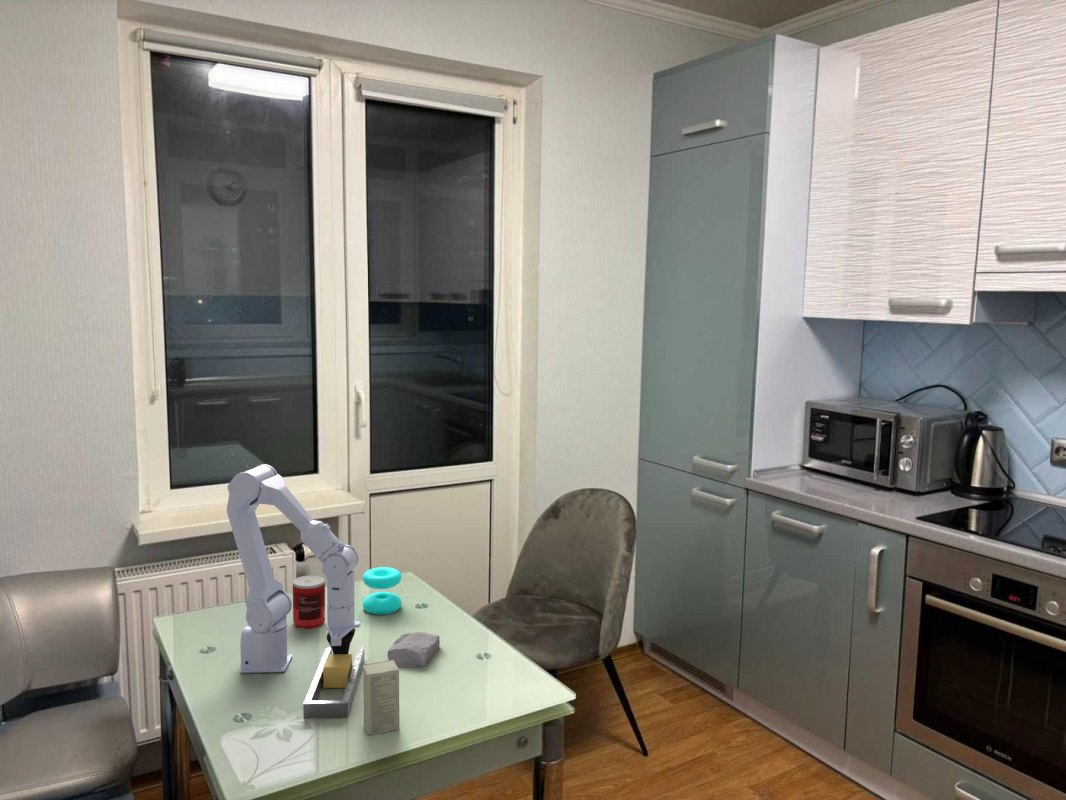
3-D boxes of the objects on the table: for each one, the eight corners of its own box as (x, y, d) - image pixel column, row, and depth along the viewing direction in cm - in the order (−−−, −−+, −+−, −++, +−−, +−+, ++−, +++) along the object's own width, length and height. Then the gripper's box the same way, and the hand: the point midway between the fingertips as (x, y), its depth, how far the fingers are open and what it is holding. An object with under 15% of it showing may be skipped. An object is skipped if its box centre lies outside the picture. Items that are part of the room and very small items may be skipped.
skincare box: (395, 718, 155) (395, 659, 153) (400, 730, 150) (400, 669, 149) (362, 724, 152) (362, 663, 151) (366, 736, 148) (366, 674, 147)
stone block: (385, 672, 178) (427, 668, 176) (381, 651, 178) (423, 647, 176) (403, 651, 190) (443, 647, 188) (400, 631, 189) (440, 627, 187)
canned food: (311, 614, 204) (310, 573, 203) (332, 622, 200) (331, 579, 198) (286, 623, 198) (285, 581, 197) (307, 632, 194) (306, 588, 192)
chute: (303, 718, 154) (303, 703, 153) (326, 660, 179) (326, 647, 178) (347, 717, 155) (347, 703, 154) (364, 659, 179) (364, 646, 179)
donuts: (355, 576, 204) (372, 564, 214) (356, 613, 206) (372, 599, 215) (392, 580, 202) (407, 567, 212) (392, 618, 203) (407, 603, 213)
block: (323, 687, 166) (323, 667, 165) (328, 674, 172) (328, 654, 171) (347, 687, 166) (347, 666, 166) (352, 674, 172) (351, 654, 172)
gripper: (355, 616, 165) (355, 679, 166) (364, 591, 179) (364, 648, 181) (320, 616, 164) (321, 679, 166) (331, 591, 178) (332, 649, 180)
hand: (341, 663), depth 173 cm, fingers closed
